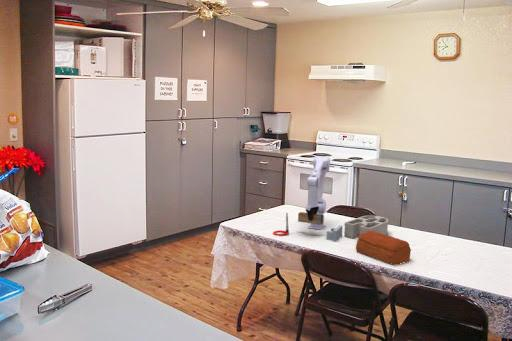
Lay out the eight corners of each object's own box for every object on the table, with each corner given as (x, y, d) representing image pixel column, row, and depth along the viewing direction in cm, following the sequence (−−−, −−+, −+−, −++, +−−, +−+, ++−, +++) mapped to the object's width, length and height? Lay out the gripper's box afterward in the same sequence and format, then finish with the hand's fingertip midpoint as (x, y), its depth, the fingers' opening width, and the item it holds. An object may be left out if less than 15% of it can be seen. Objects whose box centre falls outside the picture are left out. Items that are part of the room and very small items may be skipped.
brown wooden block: (300, 219, 289) (300, 211, 288) (322, 223, 283) (323, 214, 282) (298, 221, 286) (298, 213, 285) (320, 224, 279) (320, 216, 278)
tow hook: (272, 236, 281) (288, 236, 281) (272, 214, 279) (288, 214, 279) (273, 232, 290) (288, 232, 289) (272, 211, 287) (288, 211, 287)
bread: (393, 266, 236) (395, 245, 234) (352, 251, 257) (353, 232, 255) (413, 260, 245) (414, 240, 243) (372, 246, 266) (373, 227, 264)
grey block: (332, 234, 286) (332, 224, 285) (342, 235, 283) (342, 226, 282) (325, 239, 275) (326, 229, 274) (335, 241, 272) (336, 231, 271)
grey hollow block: (343, 237, 282) (344, 222, 280) (368, 227, 302) (368, 214, 301) (368, 243, 271) (369, 228, 269) (392, 233, 291) (393, 219, 290)
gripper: (314, 200, 273) (314, 223, 275) (323, 195, 286) (322, 217, 288) (303, 198, 276) (302, 221, 278) (312, 194, 289) (311, 216, 291)
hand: (311, 219), depth 283 cm, fingers closed on brown wooden block, 4 cm apart
